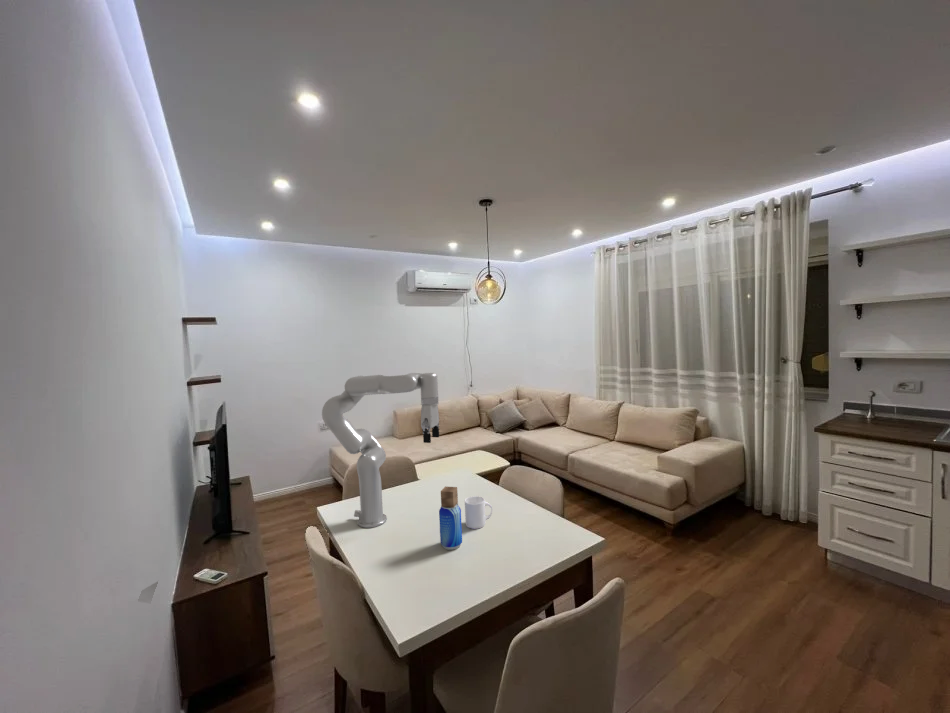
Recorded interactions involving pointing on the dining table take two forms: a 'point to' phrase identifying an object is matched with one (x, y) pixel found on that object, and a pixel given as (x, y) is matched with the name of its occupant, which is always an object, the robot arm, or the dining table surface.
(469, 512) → the mug
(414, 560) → the dining table surface
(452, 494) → the walnut block
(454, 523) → the beer can
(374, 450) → the robot arm
